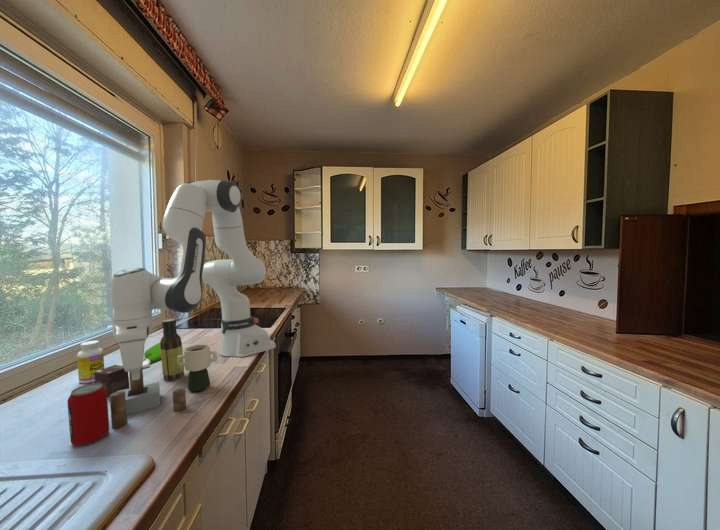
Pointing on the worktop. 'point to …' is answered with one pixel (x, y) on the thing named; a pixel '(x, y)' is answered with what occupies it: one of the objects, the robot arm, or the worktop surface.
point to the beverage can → (88, 414)
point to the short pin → (179, 400)
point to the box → (112, 379)
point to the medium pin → (118, 409)
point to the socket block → (143, 398)
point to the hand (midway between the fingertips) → (136, 376)
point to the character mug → (197, 365)
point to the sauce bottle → (171, 351)
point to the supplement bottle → (89, 361)
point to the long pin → (137, 384)
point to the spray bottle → (152, 355)
